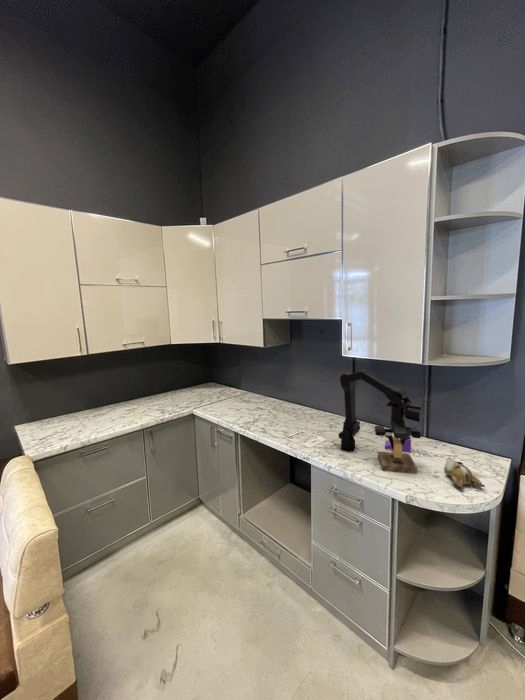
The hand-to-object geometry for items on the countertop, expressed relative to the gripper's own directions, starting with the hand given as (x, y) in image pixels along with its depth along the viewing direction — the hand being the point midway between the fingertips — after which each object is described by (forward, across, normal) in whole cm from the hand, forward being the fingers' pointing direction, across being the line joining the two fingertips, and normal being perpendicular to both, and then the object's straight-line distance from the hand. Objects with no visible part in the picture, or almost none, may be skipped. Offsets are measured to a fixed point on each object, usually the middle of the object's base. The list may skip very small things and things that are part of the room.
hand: (396, 449), depth 140 cm
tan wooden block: (+2, 0, 0) cm, 2 cm away
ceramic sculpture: (+7, +22, -11) cm, 26 cm away
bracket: (+8, +4, +18) cm, 20 cm away
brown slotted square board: (+7, 0, 0) cm, 7 cm away
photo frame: (+8, -43, +22) cm, 49 cm away
